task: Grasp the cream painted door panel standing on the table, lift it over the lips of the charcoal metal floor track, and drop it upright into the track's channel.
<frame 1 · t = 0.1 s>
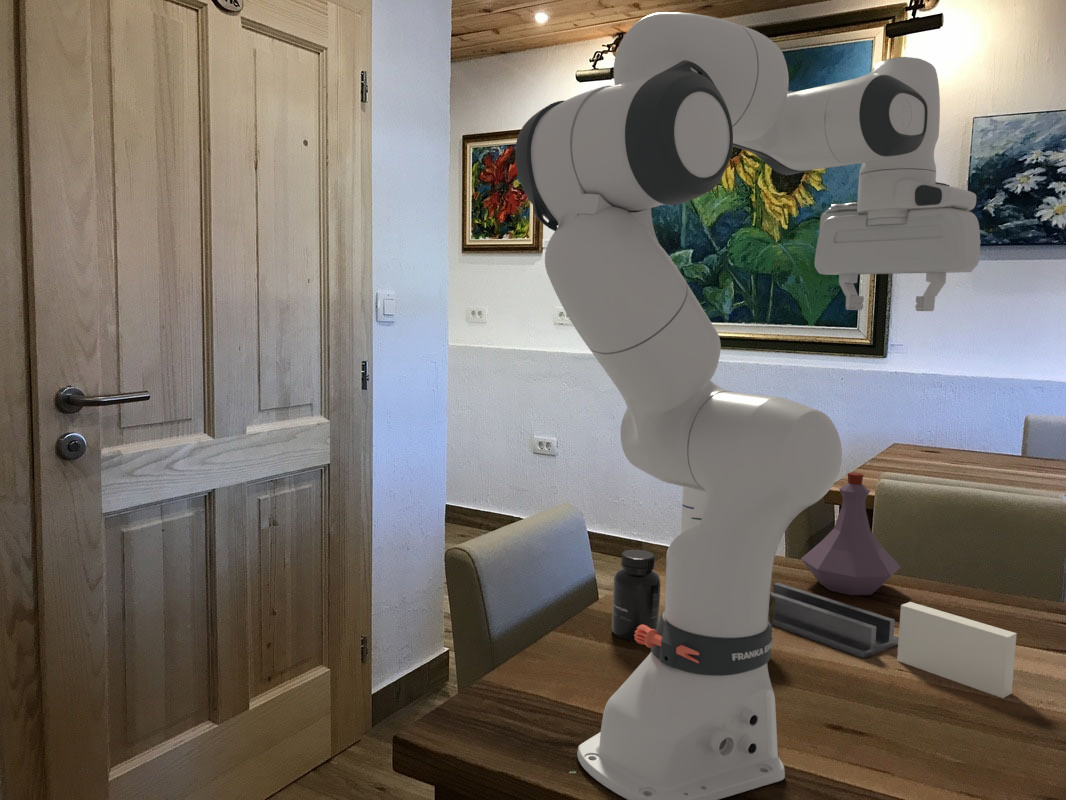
hand: (888, 310, 108), 48 cm above the table, fingers open, 8 cm apart
dark grey small vase: (746, 653, 120), on the table
supplement bottle: (635, 634, 126), on the table
flask: (848, 587, 150), on the table
floor track: (819, 629, 129), on the table
cylindrical container: (699, 574, 156), on the table
door panel: (951, 677, 114), on the table
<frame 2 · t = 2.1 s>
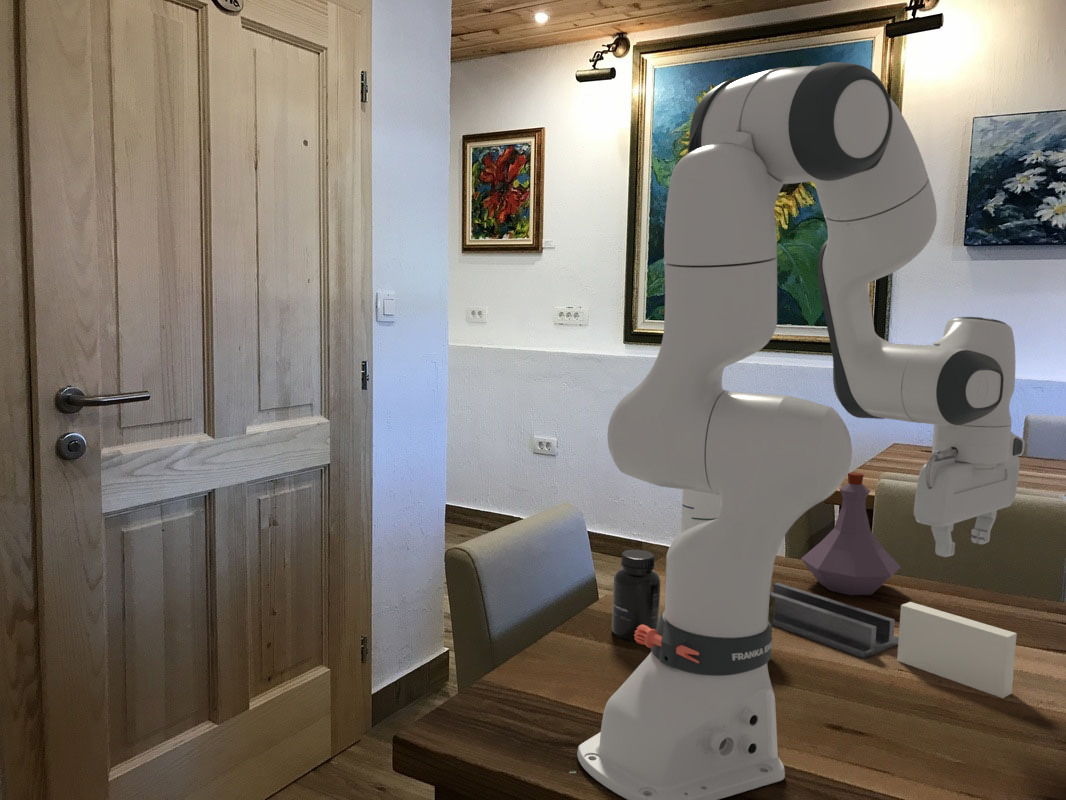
hand: (962, 549, 112), 17 cm above the table, fingers open, 8 cm apart
nothing on the table moved.
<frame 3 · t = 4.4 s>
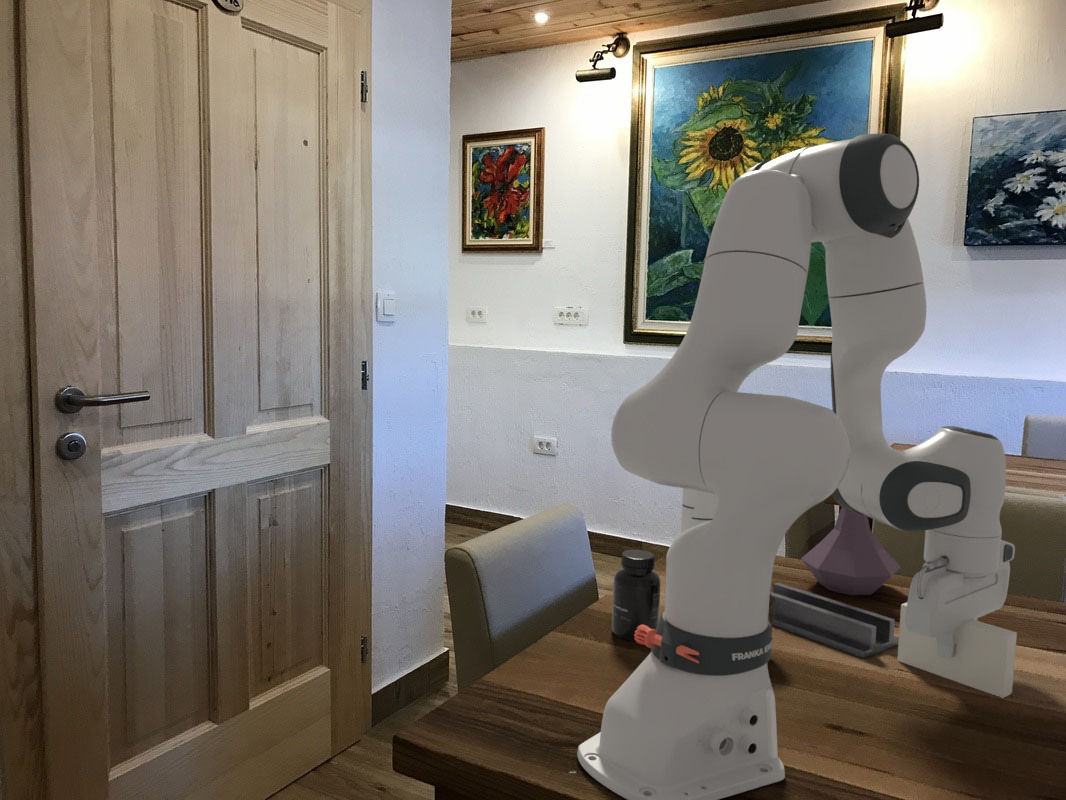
hand: (953, 653, 113), 3 cm above the table, fingers closed on door panel, 2 cm apart
door panel: (952, 676, 114), on the table, touching gripper
everything else where it was.
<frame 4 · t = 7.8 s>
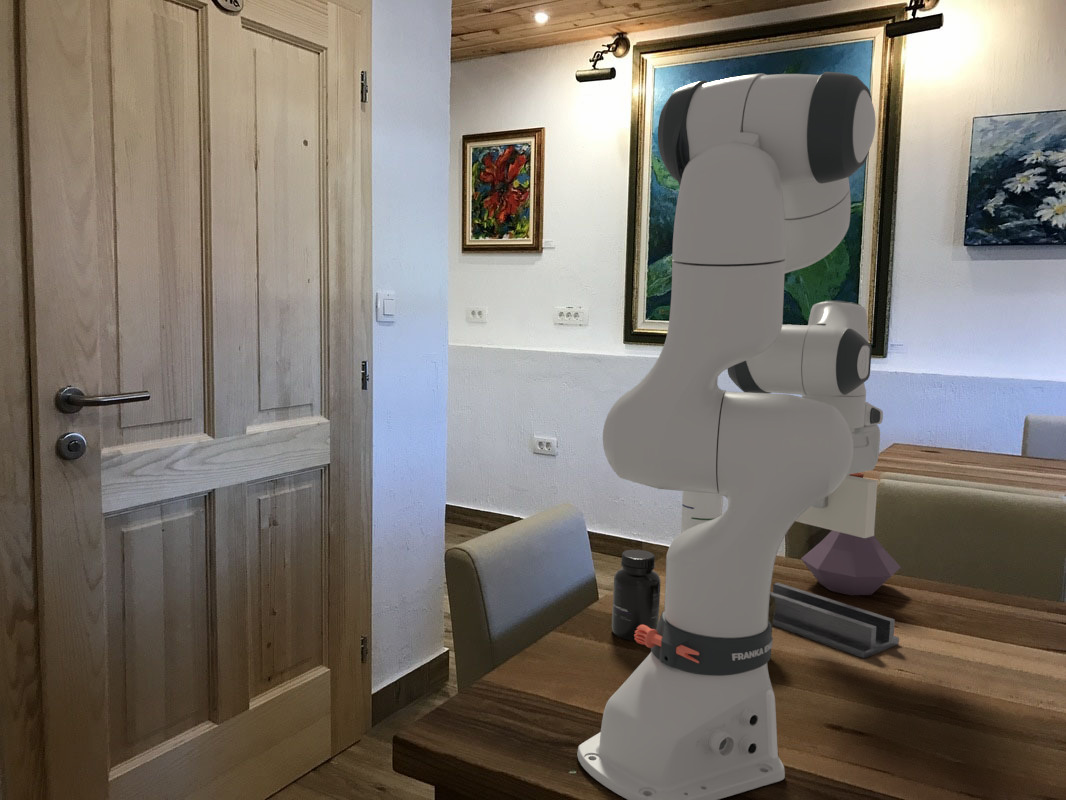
hand: (827, 505, 127), 19 cm above the table, fingers closed on door panel, 2 cm apart
door panel: (825, 526, 127), point 16 cm above the table, touching gripper
everything else where it was.
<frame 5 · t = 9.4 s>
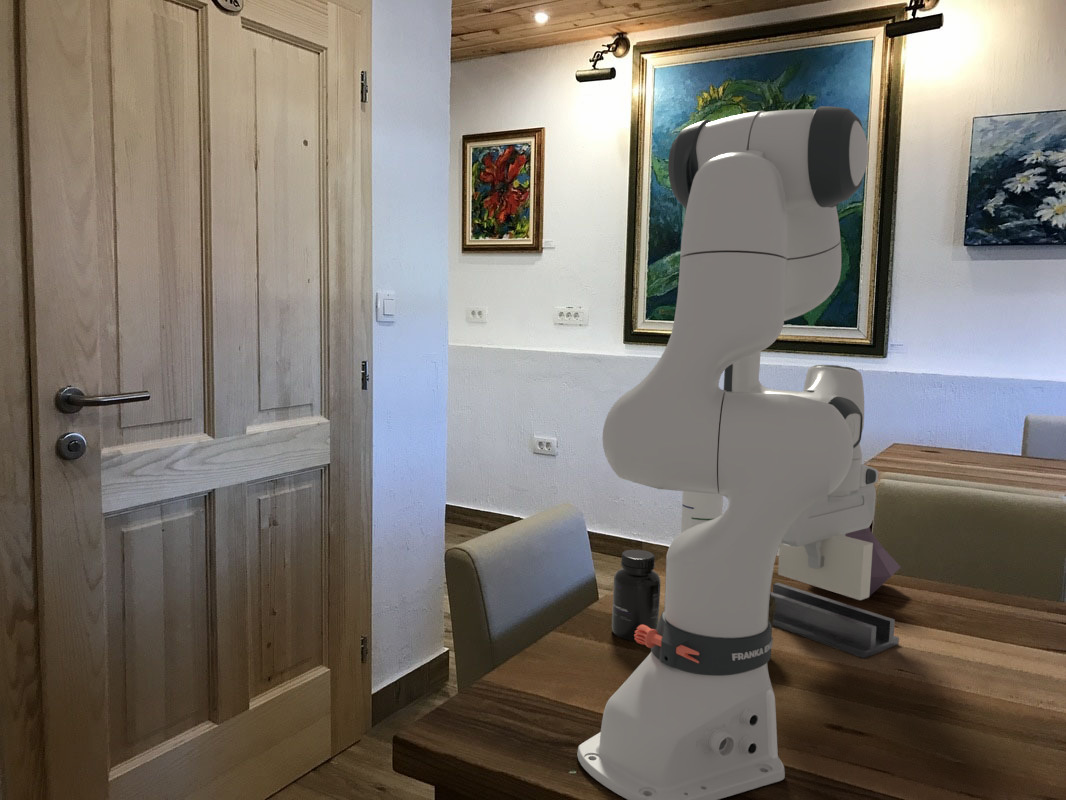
hand: (823, 565, 128), 10 cm above the table, fingers closed on door panel, 2 cm apart
door panel: (821, 585, 129), point 7 cm above the table, touching gripper
everything else where it was.
when the fingers open (6 cm above the table, at t = 10.8 s): door panel drops 1 cm, resting on floor track.
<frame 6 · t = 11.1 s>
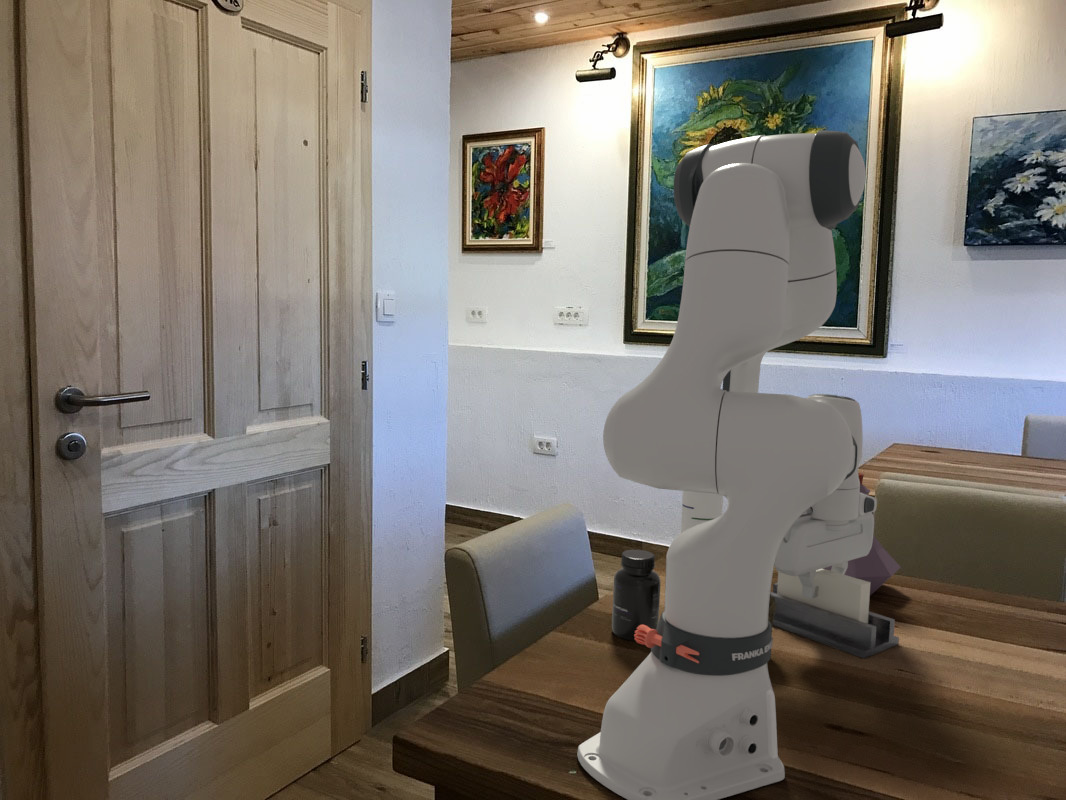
hand: (821, 593, 129), 6 cm above the table, fingers open, 5 cm apart
door panel: (819, 623, 129), point 1 cm above the table, touching floor track
everything else where it was.
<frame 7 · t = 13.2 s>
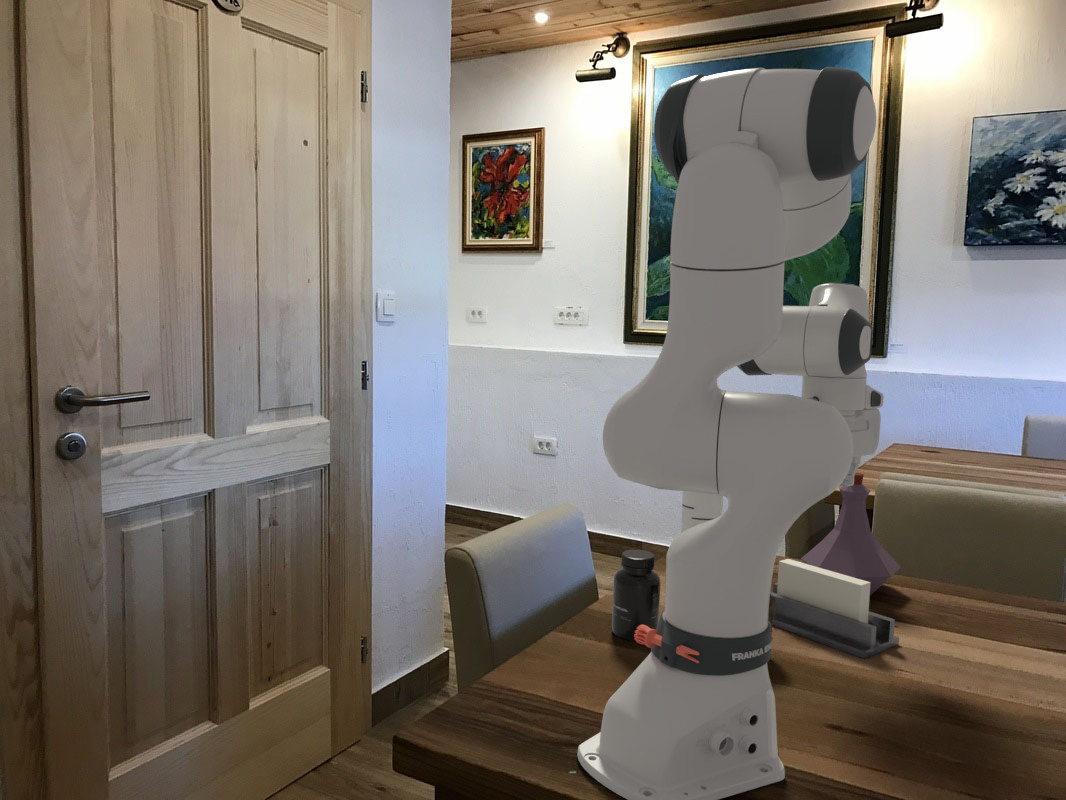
hand: (827, 489, 127), 22 cm above the table, fingers open, 8 cm apart
nothing on the table moved.
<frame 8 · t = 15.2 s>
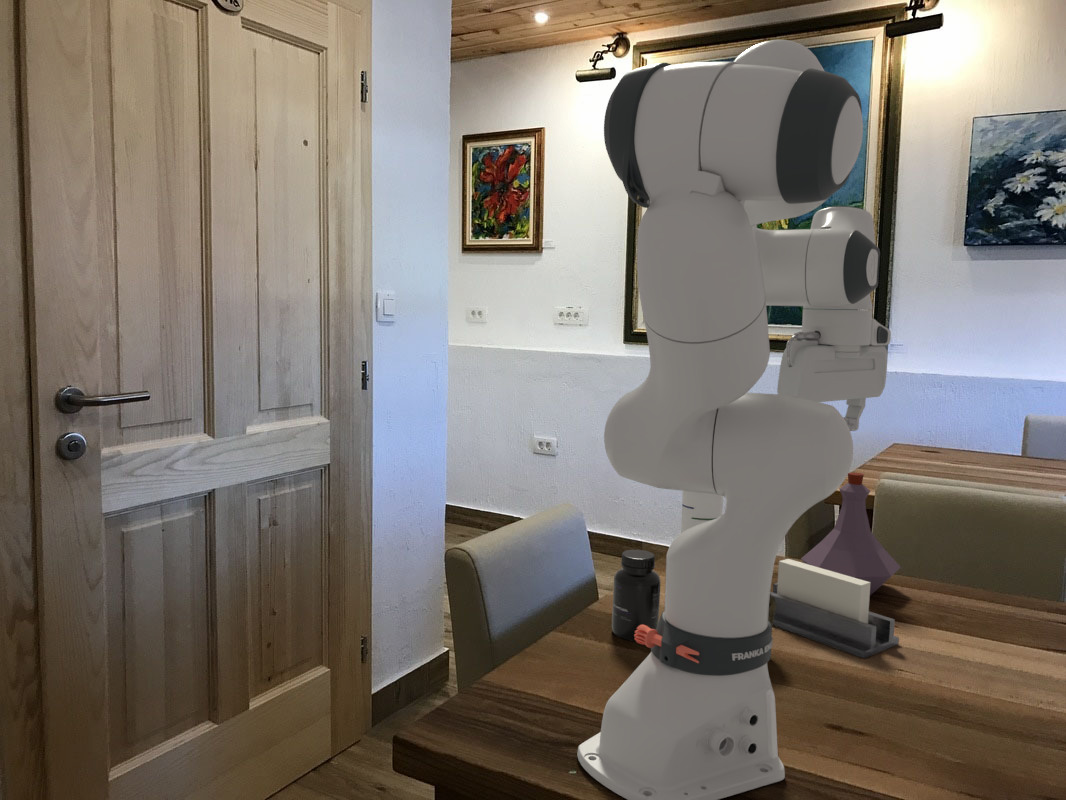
hand: (830, 433, 117), 31 cm above the table, fingers open, 8 cm apart
nothing on the table moved.
at the end: door panel 0.0 cm off-centre on the floor track, point 1.0 cm above the floor track's base; door panel tilted 0°; the gripper is holding nothing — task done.
